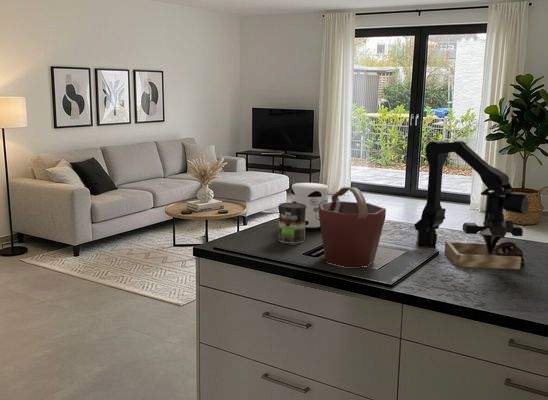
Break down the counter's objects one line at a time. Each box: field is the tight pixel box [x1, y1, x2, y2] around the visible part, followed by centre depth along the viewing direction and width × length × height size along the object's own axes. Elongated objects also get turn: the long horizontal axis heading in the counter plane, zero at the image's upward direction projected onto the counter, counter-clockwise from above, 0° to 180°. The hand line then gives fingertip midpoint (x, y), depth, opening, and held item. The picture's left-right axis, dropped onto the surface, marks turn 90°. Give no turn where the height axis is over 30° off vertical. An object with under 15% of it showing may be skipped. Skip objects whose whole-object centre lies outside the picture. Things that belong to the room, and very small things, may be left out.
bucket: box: [319, 186, 387, 267], centre depth 185 cm, size 24×22×25 cm
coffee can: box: [278, 202, 306, 244], centre depth 210 cm, size 10×10×14 cm
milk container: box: [290, 182, 329, 230], centre depth 232 cm, size 17×17×18 cm
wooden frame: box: [444, 241, 522, 270], centre depth 191 cm, size 21×17×4 cm
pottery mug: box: [494, 241, 525, 265], centre depth 190 cm, size 12×10×8 cm
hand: (489, 253), depth 191 cm, fingers closed
